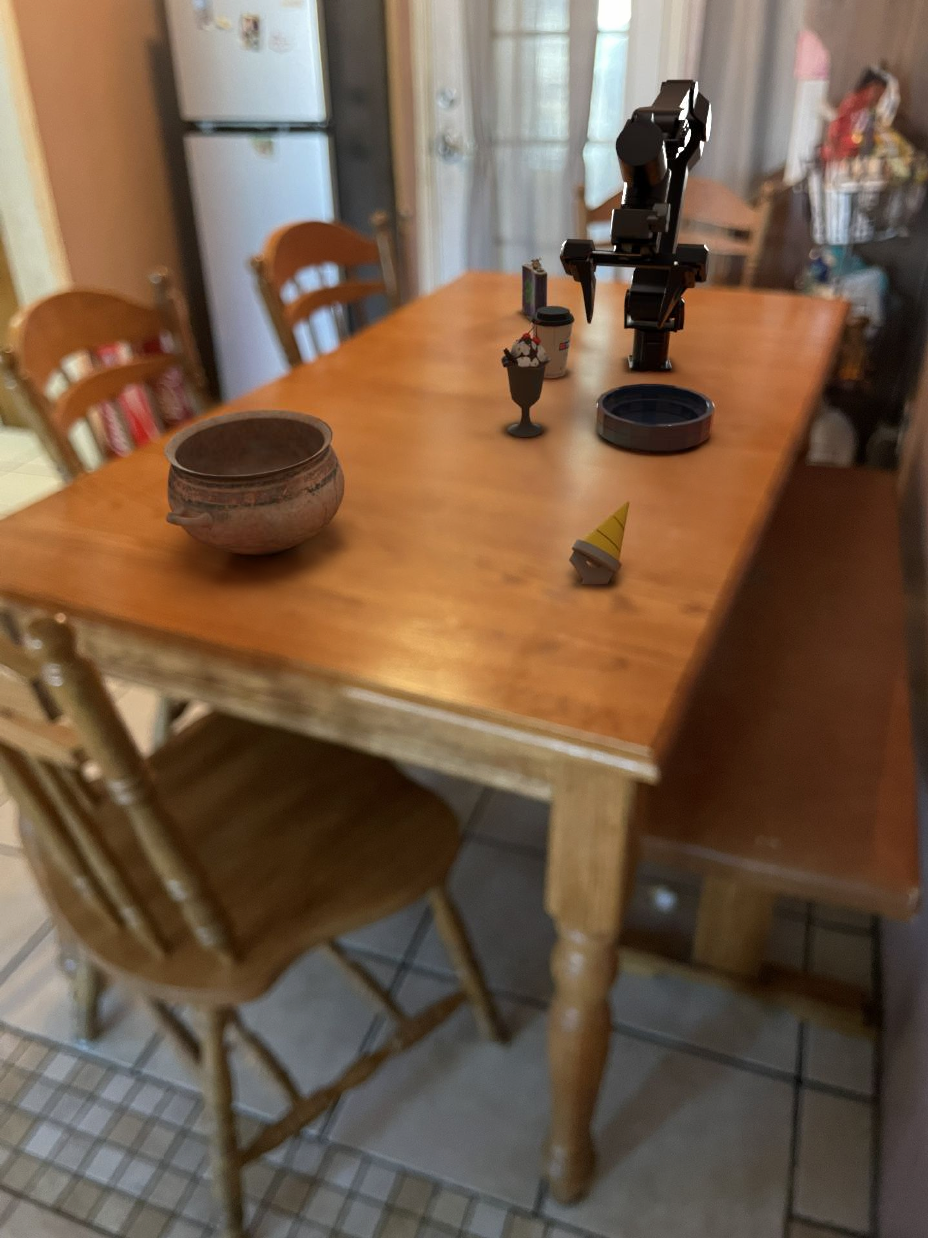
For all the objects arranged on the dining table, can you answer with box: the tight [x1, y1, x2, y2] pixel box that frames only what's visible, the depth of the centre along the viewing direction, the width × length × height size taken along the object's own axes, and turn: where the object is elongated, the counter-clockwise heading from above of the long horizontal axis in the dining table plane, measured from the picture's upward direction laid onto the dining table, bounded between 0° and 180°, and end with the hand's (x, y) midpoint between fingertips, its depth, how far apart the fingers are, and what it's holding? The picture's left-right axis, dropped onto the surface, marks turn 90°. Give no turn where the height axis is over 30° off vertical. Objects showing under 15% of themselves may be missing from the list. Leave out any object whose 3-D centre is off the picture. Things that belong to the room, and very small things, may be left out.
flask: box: [521, 257, 548, 319], centre depth 170 cm, size 9×3×11 cm, turn 17°
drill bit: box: [568, 500, 630, 585], centre depth 94 cm, size 5×5×10 cm
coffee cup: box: [529, 305, 576, 379], centre depth 144 cm, size 7×7×10 cm
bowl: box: [594, 383, 716, 454], centre depth 125 cm, size 16×16×4 cm
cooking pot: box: [164, 409, 345, 557], centre depth 100 cm, size 25×19×12 cm
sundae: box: [501, 320, 551, 438], centre depth 124 cm, size 7×7×15 cm
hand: (623, 324), depth 119 cm, fingers open, 9 cm apart
